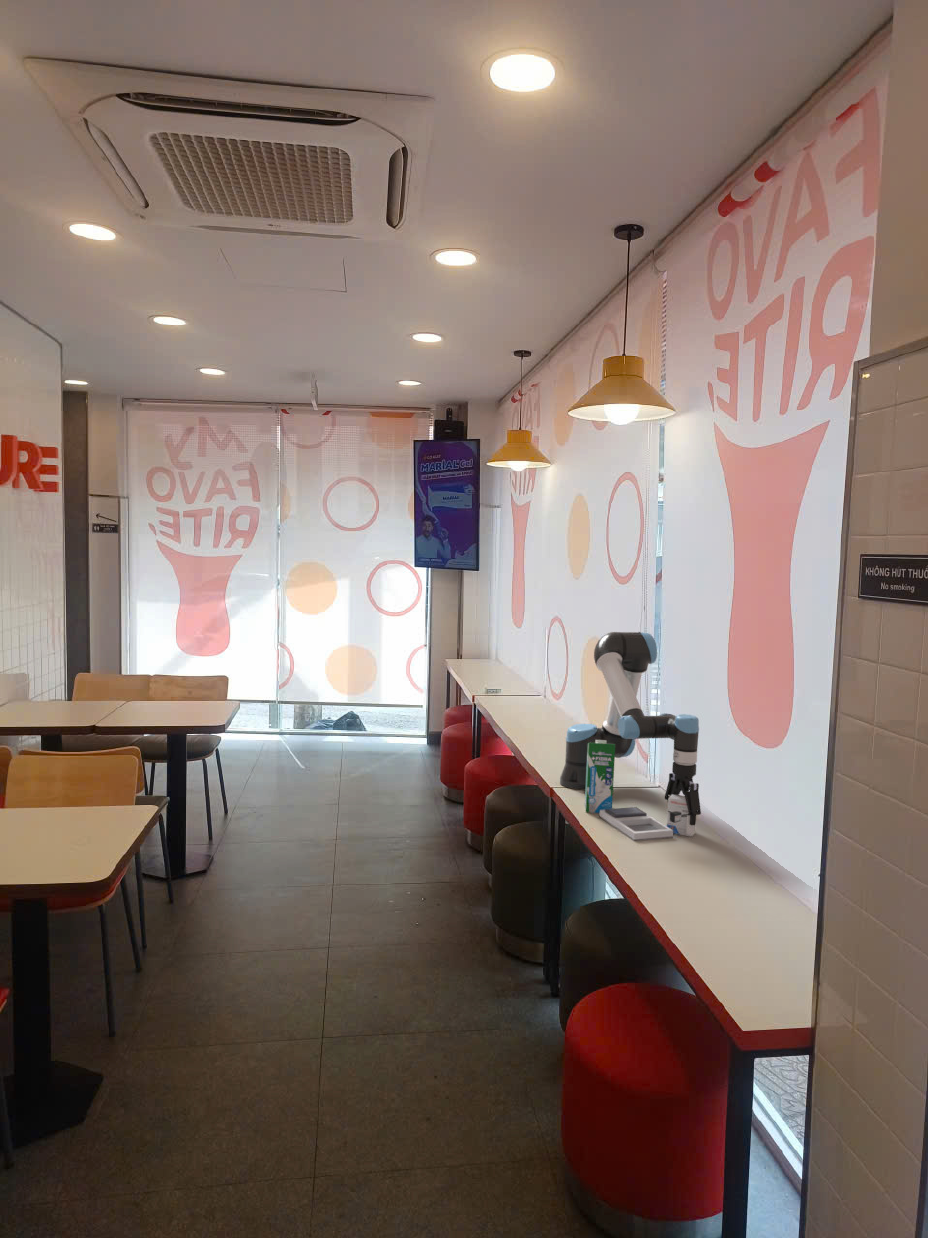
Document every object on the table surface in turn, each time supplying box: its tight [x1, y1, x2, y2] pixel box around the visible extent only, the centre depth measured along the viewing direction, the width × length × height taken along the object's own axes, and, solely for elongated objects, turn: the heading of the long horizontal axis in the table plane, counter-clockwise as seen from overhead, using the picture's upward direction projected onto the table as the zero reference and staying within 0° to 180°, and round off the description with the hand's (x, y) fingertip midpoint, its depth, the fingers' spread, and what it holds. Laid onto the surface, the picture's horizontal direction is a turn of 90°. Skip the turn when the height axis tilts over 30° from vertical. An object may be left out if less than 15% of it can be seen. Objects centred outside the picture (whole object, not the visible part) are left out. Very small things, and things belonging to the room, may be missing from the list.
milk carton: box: [584, 740, 616, 814], centre depth 293 cm, size 9×9×25 cm
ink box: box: [666, 794, 694, 837], centre depth 272 cm, size 8×5×12 cm, turn 62°
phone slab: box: [605, 806, 648, 818], centre depth 282 cm, size 7×12×1 cm, turn 108°
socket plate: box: [599, 810, 674, 842], centre depth 276 cm, size 24×14×2 cm, turn 18°
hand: (680, 828), depth 273 cm, fingers open, 10 cm apart
